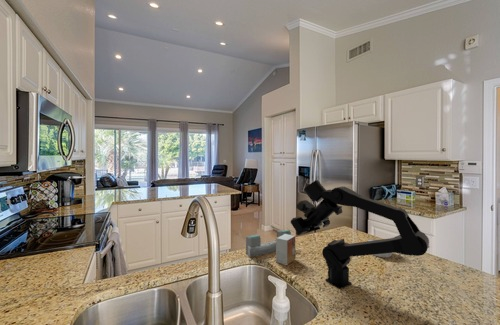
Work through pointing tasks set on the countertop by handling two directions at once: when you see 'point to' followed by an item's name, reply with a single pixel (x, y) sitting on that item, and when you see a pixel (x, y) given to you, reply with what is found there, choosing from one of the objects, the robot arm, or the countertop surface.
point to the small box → (285, 249)
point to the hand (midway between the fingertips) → (299, 233)
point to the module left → (252, 241)
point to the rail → (262, 249)
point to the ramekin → (381, 254)
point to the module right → (283, 232)
